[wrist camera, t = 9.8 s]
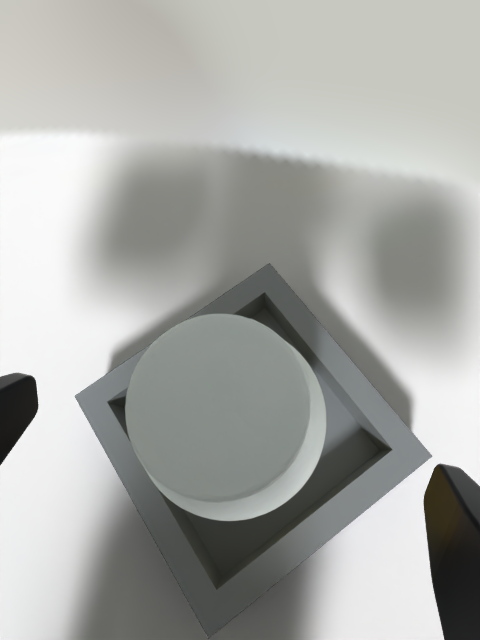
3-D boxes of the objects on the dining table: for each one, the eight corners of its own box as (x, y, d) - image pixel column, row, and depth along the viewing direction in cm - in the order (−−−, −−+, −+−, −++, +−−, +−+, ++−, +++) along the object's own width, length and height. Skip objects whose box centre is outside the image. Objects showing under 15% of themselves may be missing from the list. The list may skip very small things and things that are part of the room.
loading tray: (410, 457, 17) (432, 456, 15) (218, 612, 16) (208, 638, 14) (269, 286, 20) (269, 263, 18) (99, 404, 19) (74, 395, 17)
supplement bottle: (159, 439, 18) (39, 412, 9) (239, 348, 19) (205, 241, 10) (252, 530, 16) (223, 610, 7) (334, 425, 17) (396, 383, 8)
